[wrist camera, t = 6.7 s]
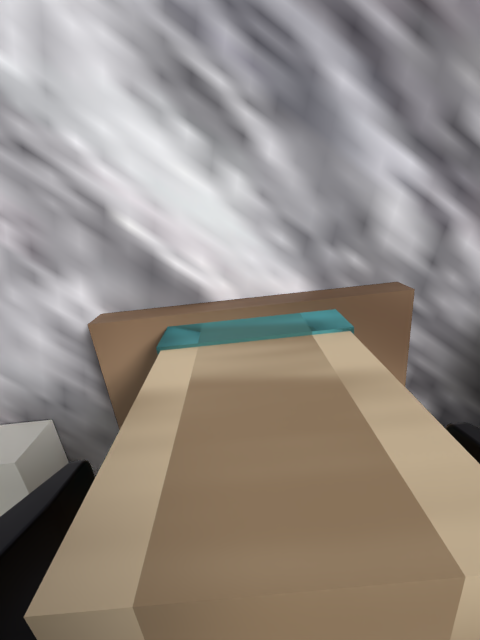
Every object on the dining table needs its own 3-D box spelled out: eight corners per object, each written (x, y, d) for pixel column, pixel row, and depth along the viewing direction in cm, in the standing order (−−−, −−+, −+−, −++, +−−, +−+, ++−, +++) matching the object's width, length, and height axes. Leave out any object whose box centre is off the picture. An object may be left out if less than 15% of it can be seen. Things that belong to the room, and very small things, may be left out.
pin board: (375, 558, 15) (463, 772, 9) (175, 577, 15) (141, 799, 9) (397, 281, 10) (611, 375, 4) (101, 314, 10) (-65, 444, 4)
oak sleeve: (334, 443, 11) (486, 791, 4) (194, 456, 11) (137, 818, 4) (335, 309, 9) (595, 558, 3) (167, 326, 9) (8, 611, 3)
